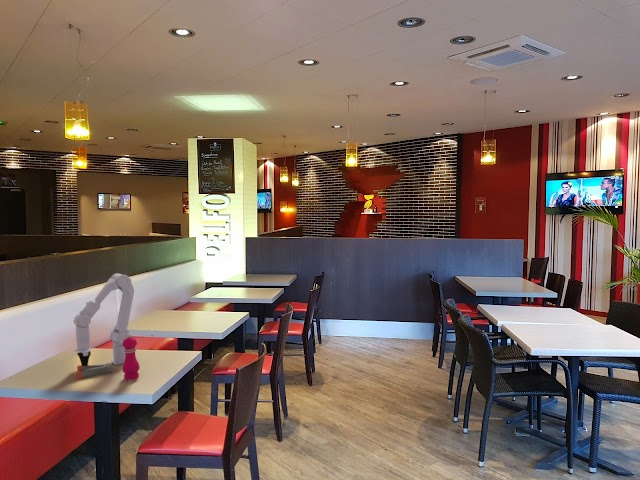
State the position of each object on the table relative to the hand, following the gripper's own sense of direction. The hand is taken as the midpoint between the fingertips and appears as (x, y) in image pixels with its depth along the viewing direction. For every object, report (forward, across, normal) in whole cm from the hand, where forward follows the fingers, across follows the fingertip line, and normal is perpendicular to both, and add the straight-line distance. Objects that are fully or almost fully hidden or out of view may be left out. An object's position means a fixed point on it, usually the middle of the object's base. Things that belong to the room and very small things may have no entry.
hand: (84, 367), depth 234 cm
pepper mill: (+2, +25, +16) cm, 30 cm away
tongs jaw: (+1, +5, +2) cm, 6 cm away
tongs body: (+1, +10, +3) cm, 10 cm away
